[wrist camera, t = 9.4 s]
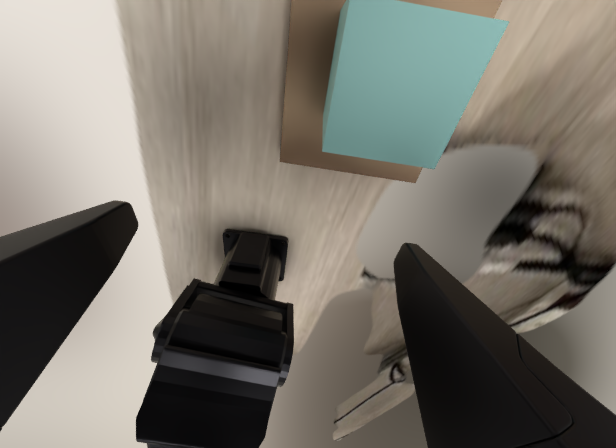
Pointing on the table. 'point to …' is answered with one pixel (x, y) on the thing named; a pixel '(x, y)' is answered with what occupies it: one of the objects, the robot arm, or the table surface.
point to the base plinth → (314, 82)
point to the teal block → (403, 79)
